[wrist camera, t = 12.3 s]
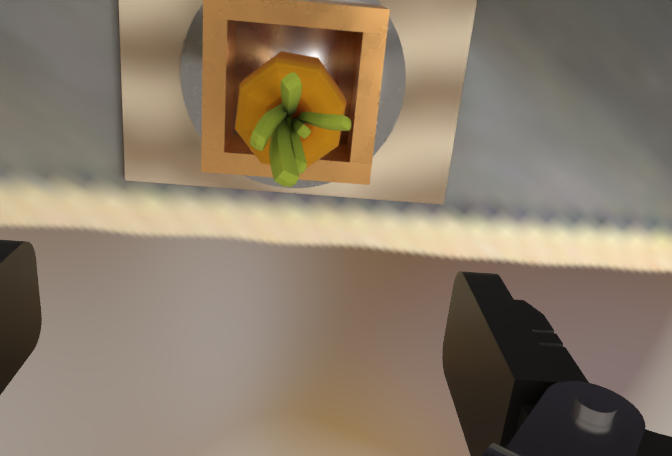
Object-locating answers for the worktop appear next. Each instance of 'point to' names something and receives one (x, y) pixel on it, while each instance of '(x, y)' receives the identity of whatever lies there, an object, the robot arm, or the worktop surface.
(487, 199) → the worktop surface
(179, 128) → the base board
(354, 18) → the socket collar
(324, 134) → the carrot
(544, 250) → the worktop surface
